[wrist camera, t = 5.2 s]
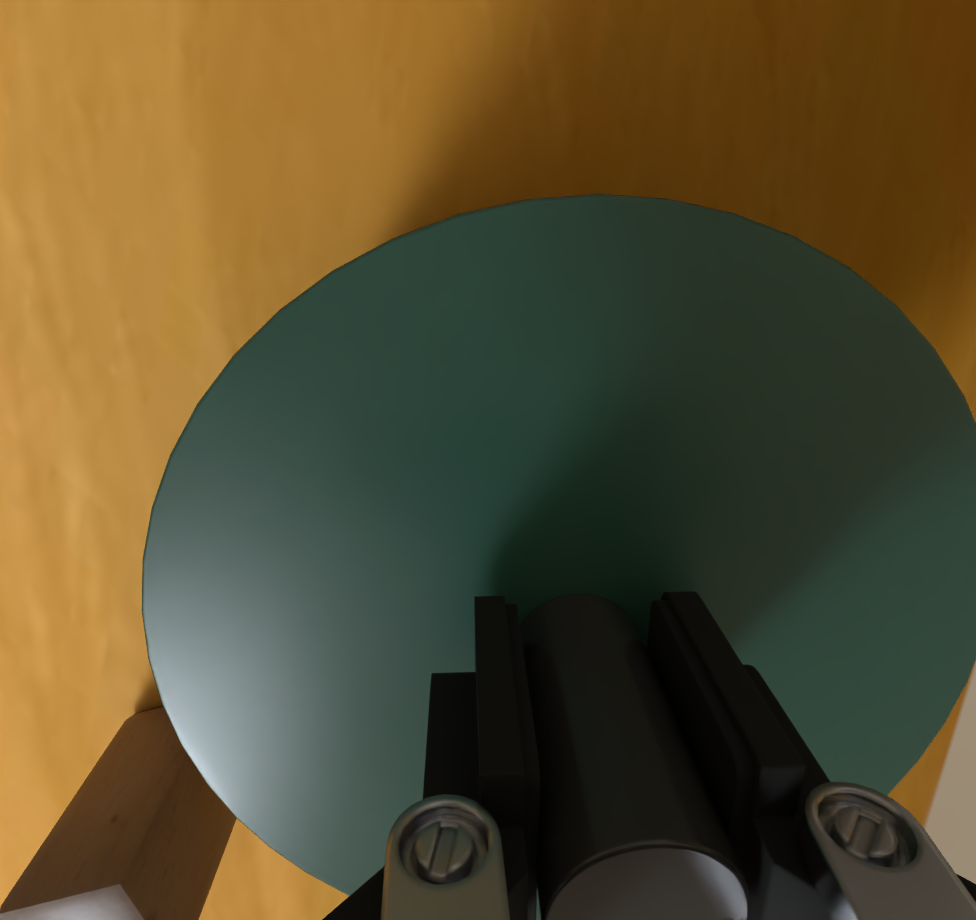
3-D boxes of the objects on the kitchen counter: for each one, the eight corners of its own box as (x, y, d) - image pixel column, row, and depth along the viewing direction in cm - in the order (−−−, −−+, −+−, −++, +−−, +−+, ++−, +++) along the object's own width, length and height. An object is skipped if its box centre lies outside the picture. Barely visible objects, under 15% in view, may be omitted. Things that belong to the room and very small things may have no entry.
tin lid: (228, 902, 16) (92, 1301, 10) (86, 197, 10) (-402, 168, 4) (869, 877, 16) (1094, 1242, 10) (1060, 195, 11) (1755, 166, 5)
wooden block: (221, 686, 25) (119, 884, 18) (261, 762, 27) (183, 976, 19) (125, 712, 26) (-15, 917, 18) (170, 786, 27) (58, 1005, 19)
